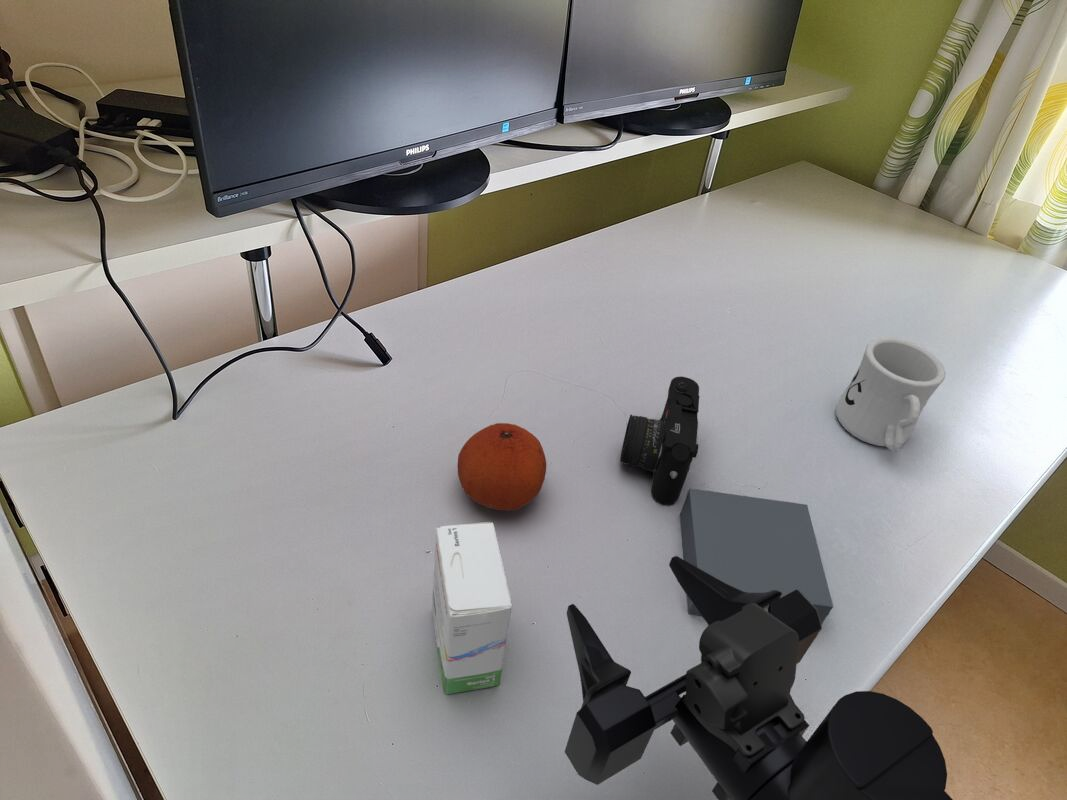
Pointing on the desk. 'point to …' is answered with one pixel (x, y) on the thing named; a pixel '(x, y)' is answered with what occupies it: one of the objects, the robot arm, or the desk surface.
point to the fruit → (502, 467)
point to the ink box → (469, 606)
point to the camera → (666, 441)
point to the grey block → (754, 545)
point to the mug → (889, 391)
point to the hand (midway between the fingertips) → (622, 583)
